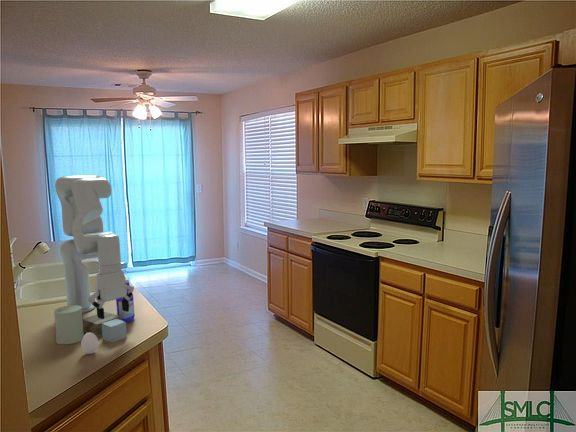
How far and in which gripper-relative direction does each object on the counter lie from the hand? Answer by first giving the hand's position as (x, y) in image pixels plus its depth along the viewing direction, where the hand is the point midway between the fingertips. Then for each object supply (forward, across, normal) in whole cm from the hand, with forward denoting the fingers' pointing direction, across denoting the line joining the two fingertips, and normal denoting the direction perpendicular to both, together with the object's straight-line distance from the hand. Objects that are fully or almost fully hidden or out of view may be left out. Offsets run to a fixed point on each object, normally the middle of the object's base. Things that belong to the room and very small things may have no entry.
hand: (113, 314), depth 161 cm
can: (+9, +10, -13) cm, 19 cm away
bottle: (+9, -13, -14) cm, 21 cm away
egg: (+10, +12, +5) cm, 16 cm away
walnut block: (+9, -2, -13) cm, 16 cm away
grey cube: (+9, 0, -1) cm, 9 cm away
